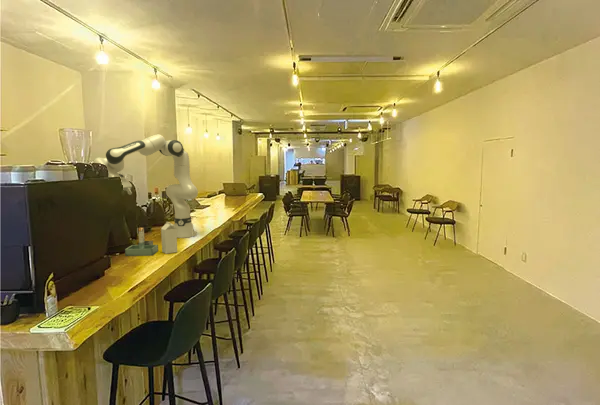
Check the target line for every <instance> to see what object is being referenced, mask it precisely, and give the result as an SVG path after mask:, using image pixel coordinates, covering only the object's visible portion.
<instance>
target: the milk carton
mask: <svg viewBox="0 0 600 405" xmlns="http://www.w3.org/2000/svg"><path fill="white" fill-rule="evenodd" d="M173 226H174V223H171V222H170V221H165V223H164V225H163V226H161V228H160V229H161V230H160V232H161V251H162V253H163V254H166V255H167V254H172V253H173V254H174V253H178V238H177V230H176V228H175V227H173Z"/></svg>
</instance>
